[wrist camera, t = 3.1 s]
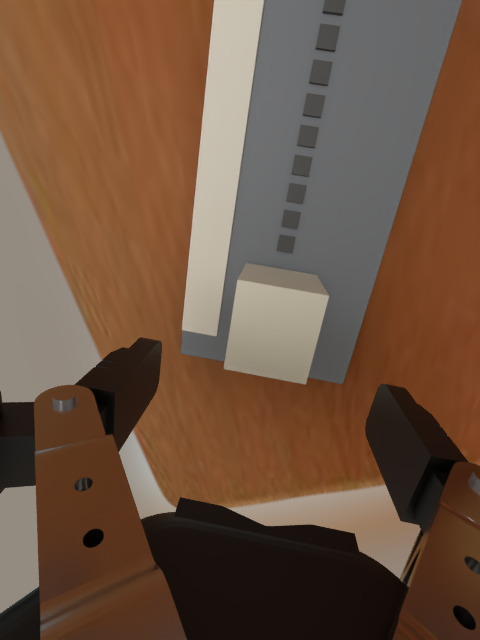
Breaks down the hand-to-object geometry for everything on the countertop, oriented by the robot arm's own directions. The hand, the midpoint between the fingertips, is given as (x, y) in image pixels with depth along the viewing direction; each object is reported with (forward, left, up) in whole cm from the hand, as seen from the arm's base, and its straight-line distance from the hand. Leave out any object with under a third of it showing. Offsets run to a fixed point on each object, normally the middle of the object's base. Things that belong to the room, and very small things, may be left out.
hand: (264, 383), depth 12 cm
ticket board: (0, -7, -12) cm, 14 cm away
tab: (0, 0, -10) cm, 10 cm away
